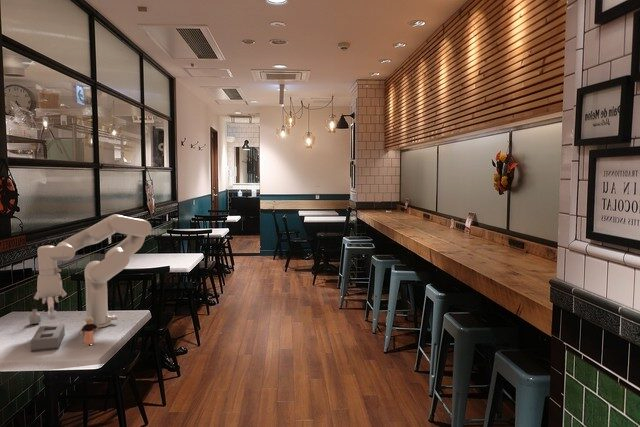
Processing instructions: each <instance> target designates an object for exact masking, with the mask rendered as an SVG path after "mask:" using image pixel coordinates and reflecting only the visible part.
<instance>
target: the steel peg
mask: <svg viewBox="0 0 640 427" xmlns="http://www.w3.org/2000/svg"><path fill="white" fill-rule="evenodd" d="M46 301H47V312H46V313H47V320H48V321H49V320H55V319H57V311H55V301H56V300H55V296H49V297H46Z"/></svg>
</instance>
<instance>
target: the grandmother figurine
mask: <svg viewBox="0 0 640 427" xmlns="http://www.w3.org/2000/svg"><path fill="white" fill-rule="evenodd" d="M92 321H93V317H91V316H88V317H87V316H86V317H85V318H84V323H85V322H86V323H87V324H86V325H85V326H82V328H81V330H80V333H79V335H81V336H82V335H83V334H84V340H83V347H84V346H86V347H89V346H88V345H89V344H94V345H95V342H94V330H95V331H96V332H97V331H99V329H100V328H97V326H96V325H95V324H91V323H92Z"/></svg>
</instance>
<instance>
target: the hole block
mask: <svg viewBox="0 0 640 427" xmlns="http://www.w3.org/2000/svg"><path fill="white" fill-rule="evenodd" d="M65 327H66V326H65V324H55V325H54V324H53V325H52V324H51V325H41V326H39V327H38V328H37V330H36V332H35V334H33V337H32V338H31V340H30V351H31V353H36V352H37V353H38V352H45V351H56V350H59V349H60V346H61V344H62V343H63V340H64V338H65V336H66V333H65V332H66V331H65Z"/></svg>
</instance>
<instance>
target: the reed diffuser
mask: <svg viewBox="0 0 640 427" xmlns="http://www.w3.org/2000/svg"><path fill="white" fill-rule="evenodd" d="M30 286H31V288H34V289H31V291H32V292H31V293H32V295H33V296H32V300H31V299H30V296H29V294H28V292H27V290H26V288H25V287H23V289H24V291H25V293H26V295H27V298H28V300H29V302H30V304H31V305H32V312H31V313H30V314H29V315H28V316H29V317H28V318H29V324H31V325H32V324H33V325H34V324H39V323H41V321H42V316H41V314H40V312H38V308H37V305H36V304H37V303H36V302H37V301H35V299H34V296H35V295H36V293H37V291H36V290H37V286H35V284H33V285H32V283H30ZM32 301H33V303H32Z"/></svg>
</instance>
